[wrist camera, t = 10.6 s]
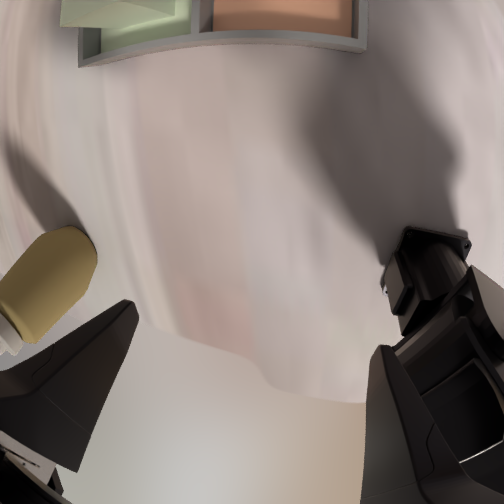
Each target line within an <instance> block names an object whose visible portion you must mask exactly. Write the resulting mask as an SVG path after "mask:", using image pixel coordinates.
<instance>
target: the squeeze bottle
mask: <svg viewBox="0 0 504 504" xmlns="http://www.w3.org/2000/svg"><path fill="white" fill-rule="evenodd" d="M96 265H97V254H96V251H95V248H94V246H93V245H92V243H91V241H90V240H89V238H88V237H87V236H86V235H85V234H84V233H83V232H82V231H81V230H79V229H77V228H75V227H72V226H66V227H63V228H59V229H56V230H53V231H50V232H47V233H44V234H42V235H41V236H39V237H38V238H37V239H36V240H35V241H34V242H33V243H32V244H31V245H30V247H29V248H28V249H27V250H26V251H25V252H24V253H23V254H22V256H21V257H20V258H19V259H18V260H17V261H16V263H15V264H14V265H13V266H12V267H11V269H10V270H9V271H8V272H7V274H6V275H5V276H4V277H3V279H2V280H1V281H0V355H1V354H2V353H4V352H5V351H6V350H7V351H8V352H9V353H11V354H12V355H14V356H16V355H17V353H18V352H19V350H20V349H21V348H22V346H23V341H25V342H27V343H34V344H36V343H37V342H38V341H39V340H40V339H41V338H42V337H43V336H44V335H45V333H47V331H49V329H50V328H51V327H52V326H53V325H54V324H55V323H56V322H57V321H58V320H59V319H60V318H61V317H62V316H63V315H64V314H65V313H66V312H67V311H68V310H69V309H70V308H71V307H72V306H73V305H74V304H75V303H76V302H77V301H78V300H79V299H80V298H81V297H82V296H84V294H85V292H86V291H87V289H88V286H89V283H90V281H91V278H92V276H93V273H94V270H95V268H96ZM22 340H23V341H22Z"/></svg>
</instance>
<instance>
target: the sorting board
mask: <svg viewBox="0 0 504 504" xmlns="http://www.w3.org/2000/svg"><path fill="white" fill-rule="evenodd" d="M367 42H368V0H176V5H175V16H174V17H169V18H164V19H159V20H154V21H150V22H146V23H142V24H138V25H134V26H131V27H127V28H124V29H120V30H119V29H108V28H92V27H79V36H78V68H81V67H89V66H99V65H103V64H107V63H110V62H114V61H118V60H122V59H126V58H130V57H135V56H139V55H144V54H149V53H155V52H160V51H166V50H173V49H180V48H188V47H197V46H208V45H223V44H284V45H299V46H310V47H319V48H327V49H334V50H340V51H346V52H352V53H357V54H361V53H362V52H364V51H365V50H367Z"/></svg>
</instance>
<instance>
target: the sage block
mask: <svg viewBox="0 0 504 504" xmlns="http://www.w3.org/2000/svg"><path fill="white" fill-rule="evenodd" d="M175 5H176V0H62V3H61V12H60V24H59V27H92V28H108V29H119V30H120V29H124V28H127V27H131V26H134V25H138V24H142V23H146V22H150V21H154V20H159V19H164V18H169V17H174V16H175Z"/></svg>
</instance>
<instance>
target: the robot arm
mask: <svg viewBox="0 0 504 504" xmlns="http://www.w3.org/2000/svg"><path fill="white" fill-rule="evenodd" d="M409 232H412V233H411V234H410V235H407V234H408V233H409ZM465 244H467V245H466V246H465ZM471 246H472V244H471V242H470V240H469V239H467V238H464V237H459V236H455V235H450V234H446V233H441V232H437V231H432V230H427V229H422V228H417V227H412V226H408V227H406V228H405V229H404V230H403V232H402V236H401V239H400V242H399V244H398V247H397V250H396V251H395V252H393V254H392V257H391V260H390V262H389V265H388V268H387V271H386V273H385V276H384V280H385V282H384V285H383V287H382V293H383V295H384V296H388V298H389V303H390V307H391V312H392V314H393V315H396V316H398V320H399V325H400V330H401V335H402V336H404V338H403V339H402V340H401V341H400V342H398V343H397V344H396V345H395V346H392V347H391V346H389V345H379V346H378V347H377V349H376V350H375V352H374V354H373V355H372V357H371V359H370V365H369V378H368V388H367V398H366V436H365V456H364V471H363V481H362V491H361V500H360V504H504V289H503V288H502V287H501V286H499V285H498V284H497V283H496V282H494V281H493V280H492V279H490V278H489V277H488V276H486V275H485V274H484V273H482V272H481V271H480V270H478V269H477V268H476V267H474V266H473V265H471V266H470V267H469V266H468V265H467V263H466V261H465V260H466V257H467V255H468V253H469V251H470V249H471ZM386 290H387V291H386ZM138 321H139V314H138V312H137V309H136V306H135V303H134V302H133V301H130V300H126V299H124V300H122V301H120V302H118V303H117V304H115V305H114V306H112V307H110V308H109V309H107V310H106V311H104V312H102V313H101V314H99V315H98V316H96V317H94V318H93V319H91V320H90V321H88V322H86V323H85V324H83V325H82V326H80V327H78V328H77V329H76V330H74V331H72V332H71V333H69V334H68V335H66V336H64V337H63V338H61V339H60V340H58V341H57V342H55V344H52V345H50V346H49V347H47V348H46V349H44V350H43V351H41V352H39V353H38V354H36V355H34V356H32V357H30V358H29V359H27V360H25V361H23V362H21V363H19V364H17V365H15V366H14V367H12V368H10V369H7V370H4V371H0V504H72V503H71V502H69V501H68V500H66V499H65V498H63V497H62V493H63V491H64V490H63V487H62V485H61V482H60V479H59V476H58V473H57V470H56V467H55V466H56V464H59V465H61V466H63V467H65V468H67V469H69V470H71V471H73V472H76V473H77V472H78V470H79V467H80V464H81V461H82V459H83V456H84V453H85V451H86V448H87V445H88V443H89V440H90V438H91V434H92V432H93V430H94V427H95V425H96V422H97V420H98V417H99V415H100V413H101V410H102V408H103V405H104V403H105V401H106V398H107V396H108V394H109V392H110V389H111V387H112V385H113V383H114V380H115V378H116V376H117V374H118V372H119V369H120V367H121V365H122V363H123V361H124V359H125V357H126V354H127V352H128V349H129V346H130V344H131V341H132V338H133V335H134V332H135V329H136V327H137V324H138Z"/></svg>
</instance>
